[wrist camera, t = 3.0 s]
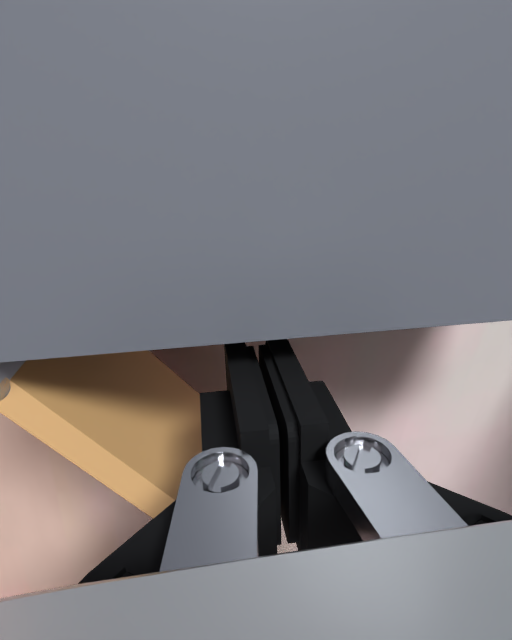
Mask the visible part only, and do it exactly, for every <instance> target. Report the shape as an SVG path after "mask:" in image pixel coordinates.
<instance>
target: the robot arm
mask: <svg viewBox="0 0 512 640" xmlns="http://www.w3.org/2000/svg"><path fill="white" fill-rule="evenodd" d="M224 349H225V364H226V379H227V390H226V391H216V392H207V393H200V412H201V437H202V452H201V453H199V454H197V455H196V456H194V457H193V458H192V459H191V460H190V461H189V462H188V463H187V464H186V466H185V468H184V470H183V473H182V478H181V482H180V486H179V490H178V495H177V499H176V500H175V501H174V502H173V503H171V504H170V505H169V506H168V507H167V508H165V509H164V510H163V511H162V512H161V513H159V514H158V515H157V516H156V517H155V518H154V519H152V520H151V521H150V522H149V523H148V524H146V525H145V526H144V527H143V528H142V529H140V530H139V531H138V532H137V533H136V534H134V535H133V536H132V537H131V538H130V539H129V540H127V541H126V542H125V543H124V544H123V545H121V546H120V547H119V548H118V549H117V550H115V551H114V552H113V553H112V554H111V555H109V556H108V557H107V558H106V559H105V560H104V561H102V562H101V563H100V564H99V565H98V566H96V567H95V568H94V569H93V570H92V571H90V572H89V573H88V574H87V575H86V576H85V577H84V578H83V579H82V580H81V581H80V582H79V583H78V584H76V585H70V586H64V587H59V588H54V589H48V590H43V591H38V592H32V593H27V594H21V595H16V596H11V597H5V598H0V640H512V516H511V515H509V514H507V513H505V512H502V511H500V510H497V509H495V508H492V507H490V506H487V505H485V504H482V503H480V502H477V501H475V500H472V499H470V498H467V497H465V496H462V495H460V494H457V493H455V492H452V491H450V490H447V489H445V488H442V487H440V486H438V485H435V484H433V483H430V482H428V481H426V480H425V479H424V478H423V476H422V475H421V474H420V473H419V472H418V471H417V470H416V469H415V468H414V467H413V466H412V465H411V464H410V462H409V461H408V460H407V459H406V458H405V457H404V456H403V455H402V454H401V453H400V452H399V451H398V450H397V448H396V447H395V446H394V445H392V444H391V443H390V442H389V441H387V440H386V439H384V438H382V437H380V436H378V435H374V434H371V433H367V432H352V431H351V430H350V428H349V426H348V424H347V422H346V421H345V419H344V417H343V415H342V414H341V412H340V410H339V408H338V406H337V405H336V403H335V401H334V399H333V397H332V396H331V394H330V392H329V390H328V389H327V387H326V385H325V383H324V382H323V381H314V382H309V381H308V379H307V377H306V375H305V373H304V371H303V369H302V367H301V365H300V363H299V361H298V359H297V357H296V355H295V353H294V351H293V349H292V347H291V345H290V343H289V341H288V339H279V340H267V341H266V343H265V345H259V363H258V360H257V357H256V354H255V351H254V347H253V346H246V344H245V342H242V343H230V344H224ZM281 518H282V522H283V526H284V530H285V534H286V538H287V542H288V543H295V542H296V544H297V548H298V551H293V552H286V553H279V554H277V545H281Z"/></svg>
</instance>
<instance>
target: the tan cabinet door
mask: <svg viewBox="0 0 512 640" xmlns="http://www.w3.org/2000/svg"><path fill="white" fill-rule="evenodd" d="M0 413H1V414H3V415H4V416H6V417H7V418H9V419H10V420H12V421H13V422H14V423H16V424H17V425H19V426H20V427H22V428H23V429H25V430H26V431H27V432H29V433H30V434H32V435H33V436H35V437H36V438H38V439H39V440H40V441H42V442H43V443H45V444H46V445H48V446H49V447H51V448H52V449H53V450H55V451H56V452H58V453H59V454H61V455H62V456H64V457H65V458H66V459H68V460H69V461H71V462H72V463H74V464H75V465H77V466H78V467H79V468H81V469H82V470H84V471H85V472H87V473H88V474H90V475H91V476H92V477H94V478H95V479H97V480H98V481H100V482H101V483H103V484H104V485H105V486H107V487H108V488H110V489H111V490H113V491H114V492H116V493H117V494H118V495H120V496H121V497H123V498H124V499H126V500H127V501H129V502H130V503H131V504H133V505H134V506H136V507H137V508H139V509H140V510H141V511H143V512H144V513H146V514H147V515H149V516H150V517H152V518H153V519H154V518H155V517H156V516H157V515H158V514H159V513H161V512H162V511H163V510H164V509H165V508H167V507H168V506H169V505H170V504H171V503H173V502H174V501H175V500H176V499H177V495H178V490H179V486H180V482H181V478H182V473H183V470H184V468H185V466H186V464H187V463H188V462H189V461H190V460H191V459H192V458H193V457H194V456H196V455H197V454H199V453H201V452H202V437H201V412H200V394H199V393H198V392H196V391H195V390H194V389H193V388H192V387H191V386H189V385H188V384H187V383H186V382H185V381H184V380H182V379H181V378H180V377H179V376H178V375H177V374H175V373H174V372H173V371H172V370H171V369H170V368H168V367H167V366H166V365H165V364H164V363H163V362H161V361H160V360H159V359H158V358H157V357H156V356H154V355H153V354H152V353H151V352H150V351H149V350H146V351H134V352H122V353H109V354H97V355H85V356H73V357H61V358H49V359H37V360H25V361H13V362H1V363H0Z"/></svg>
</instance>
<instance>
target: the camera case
mask: <svg viewBox="0 0 512 640" xmlns="http://www.w3.org/2000/svg"><path fill="white" fill-rule="evenodd" d="M509 320H512V0H0V363H1V362H13V361H25V360H37V359H49V358H61V357H73V356H85V355H97V354H109V353H122V352H134V351H146V350H158V349H170V348H182V347H194V346H206V345H218V344H230V343H242V342H255V341H267V340H279V339H291V338H303V337H315V336H327V335H339V334H351V333H363V332H376V331H388V330H400V329H412V328H424V327H436V326H448V325H460V324H472V323H484V322H496V321H509Z"/></svg>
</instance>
